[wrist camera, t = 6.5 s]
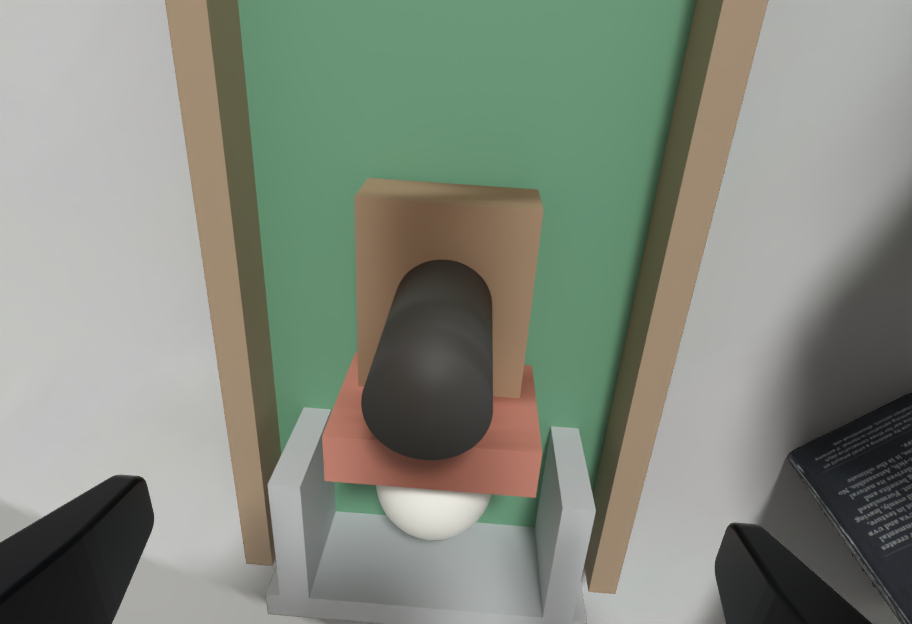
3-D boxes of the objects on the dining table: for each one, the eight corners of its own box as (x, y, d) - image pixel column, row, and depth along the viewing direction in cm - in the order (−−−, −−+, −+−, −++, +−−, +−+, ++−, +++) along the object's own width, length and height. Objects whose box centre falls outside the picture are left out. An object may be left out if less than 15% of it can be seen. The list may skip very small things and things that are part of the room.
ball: (488, 572, 19) (488, 486, 23) (499, 476, 18) (497, 399, 21) (366, 562, 20) (385, 478, 23) (365, 465, 18) (385, 391, 21)
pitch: (806, -369, 13) (971, -566, 9) (601, 532, 25) (626, 644, 21) (171, -400, 13) (11, -606, 9) (272, 505, 26) (225, 610, 21)
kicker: (555, 190, 18) (590, 290, 11) (527, 404, 21) (542, 571, 15) (351, 176, 18) (275, 267, 11) (356, 391, 21) (299, 551, 15)
